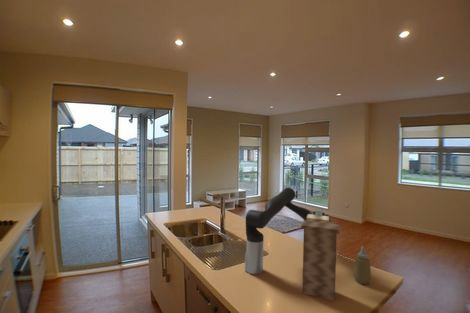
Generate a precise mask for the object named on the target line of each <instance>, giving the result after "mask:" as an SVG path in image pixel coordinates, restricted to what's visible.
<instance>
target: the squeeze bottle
mask: <svg viewBox="0 0 470 313" xmlns="http://www.w3.org/2000/svg"><path fill="white" fill-rule="evenodd" d="M359 251H360V252H359ZM359 251H358V252H357V256H355V260H354V261H355V262H354V268H353V276H354V279H355V282H357V283H359V284H361V285H368V284H370V281H371V279H372V271H371V269H372V268H371V260H370V259H369V254H368V253H367V252H366V249H365V246H361V248H360V250H359Z"/></svg>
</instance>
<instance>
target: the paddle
mask: <svg viewBox="0 0 470 313" xmlns="http://www.w3.org/2000/svg"><path fill="white" fill-rule="evenodd" d="M315 212H316V213H315V215H312V214H308V215H307V217H306V221H314V222H322V223H330V222H329V216H330V215H329V216H322V212H323V211H322V210H315Z"/></svg>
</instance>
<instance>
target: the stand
mask: <svg viewBox="0 0 470 313" xmlns="http://www.w3.org/2000/svg"><path fill="white" fill-rule="evenodd" d="M301 230H303V242H302V243H303V247H302V248H303V251H302V287H301V288H302V291H301V293H302V294H303V295H307V296H312V297H315V298H319V299H324V300H328V301H332V302H336V301H335V299H336V275H337V274H336V273H337V272H336V267H337V238H338V237H337V235H338V234H339V235H340V224H337V223H331V222H329V223H322V222H314V221H305V220H304V219H303V221H302V224H301Z"/></svg>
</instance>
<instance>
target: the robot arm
mask: <svg viewBox="0 0 470 313" xmlns="http://www.w3.org/2000/svg"><path fill="white" fill-rule="evenodd" d="M294 199H296V192H295V190H294V189H293V188H291V187H285V188H283V189H282V190H281V191H280V192H279V193H278V194H276V195H274V196H273V197H272V198H270V199H268V200H267V201H266V202H265V205H264V210H262V211H261V210H256V209H249V210H247V212H246V214H245V235H246V252H245V255H244V272H246V273H249V274H251V275H260V274H263V272H264V234H263V233H262V232H261V231H259V230H258V229H264V228H265V227H266V226H267V225H268V224H269V222H271V220H272V219H273V218H274V217H275V216H276V215H277V214H278V213H280V211H282V210H283V208H284V207H286V208H288V209H289V210H291V211H292V212H293V213H295V214H296V215H298V216H299V217H300V218H301V219H302V220H303V221H304V220H305V221H306V217H307V215H308V214H312V215H315V213H316V211H313V212H311V211H310V210H309V209H307V208H305V207H302V206H298V205H296V204H295V203H293V202H292V201H293V200H294ZM322 216H329V223H332V217H331V216H330V215H329V214H325V212H322Z"/></svg>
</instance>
